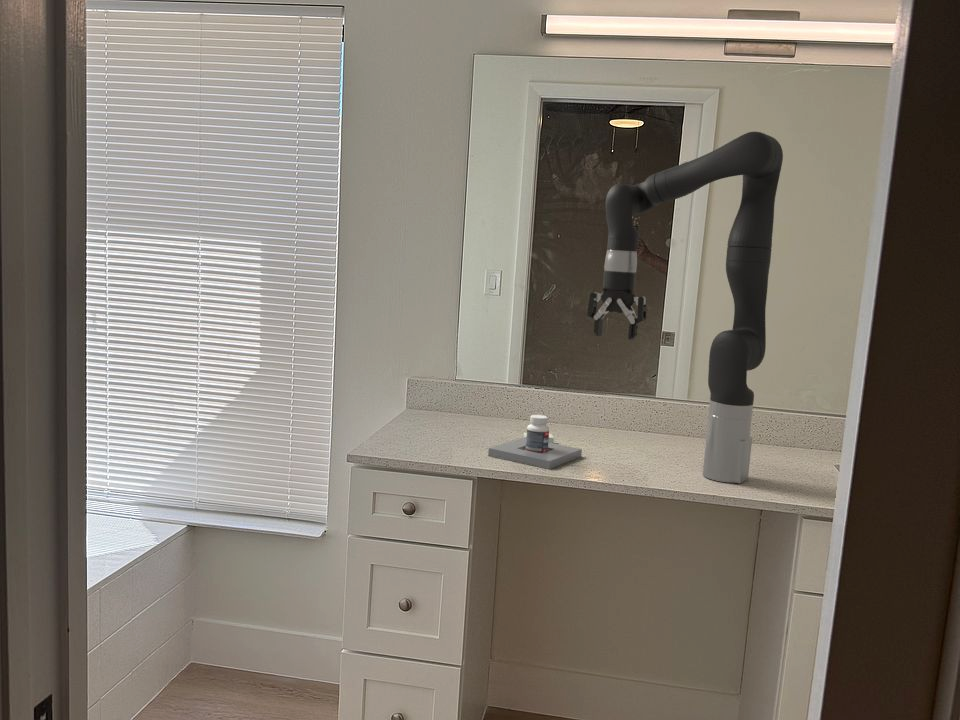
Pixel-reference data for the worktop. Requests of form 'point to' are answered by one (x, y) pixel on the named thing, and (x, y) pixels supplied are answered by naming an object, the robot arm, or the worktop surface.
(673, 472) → the worktop surface
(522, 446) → the grey square slab
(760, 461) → the worktop surface
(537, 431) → the pill bottle
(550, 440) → the soap bar
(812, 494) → the worktop surface
